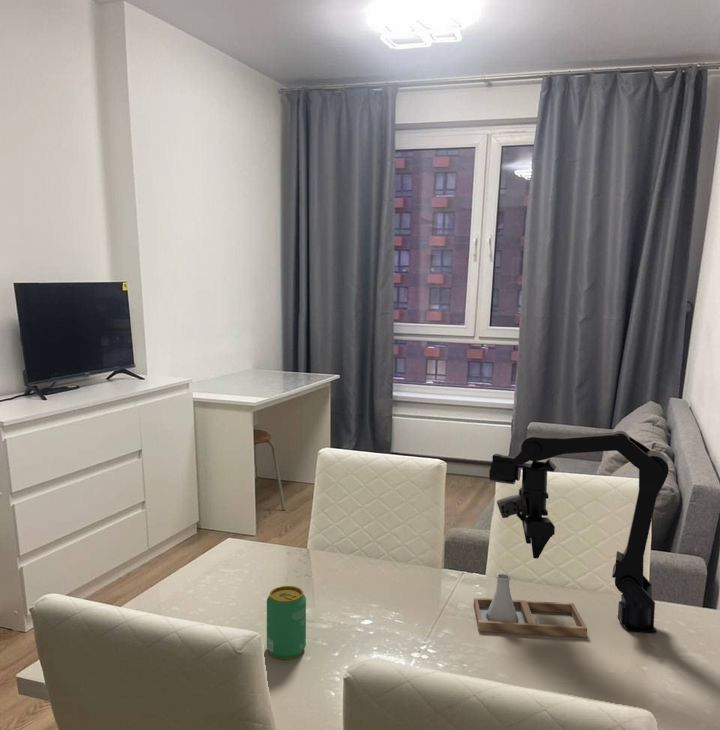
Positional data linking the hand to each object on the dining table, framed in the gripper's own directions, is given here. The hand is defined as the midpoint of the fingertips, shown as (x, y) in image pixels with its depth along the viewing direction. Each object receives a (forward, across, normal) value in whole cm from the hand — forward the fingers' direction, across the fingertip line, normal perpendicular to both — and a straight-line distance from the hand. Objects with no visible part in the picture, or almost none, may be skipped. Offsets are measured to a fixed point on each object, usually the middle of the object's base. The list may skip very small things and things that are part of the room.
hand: (531, 550), depth 143 cm
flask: (+13, +9, -8) cm, 18 cm away
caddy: (+13, +9, -2) cm, 16 cm away
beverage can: (+13, +27, -54) cm, 62 cm away
